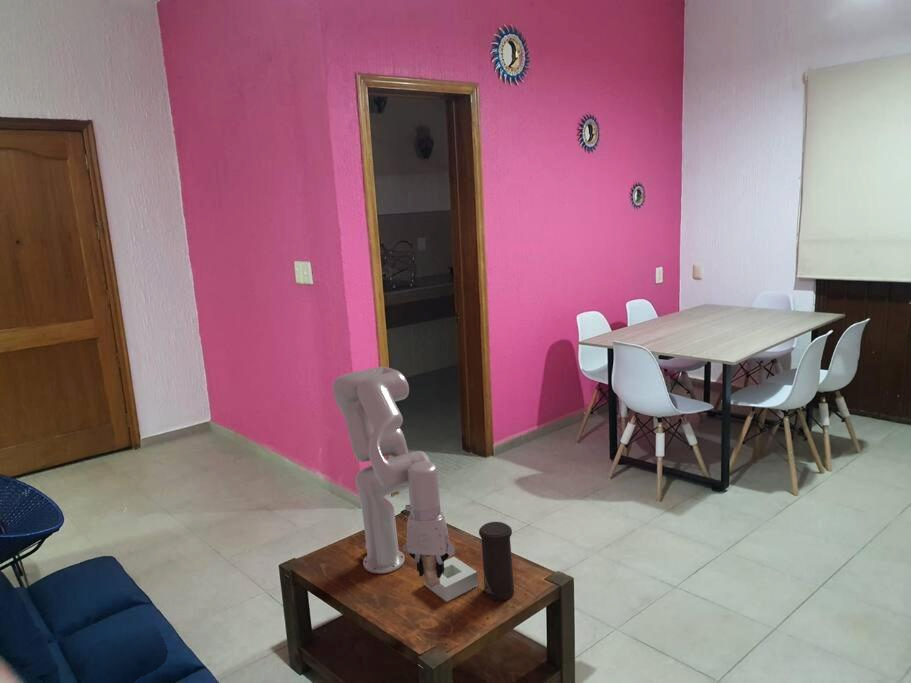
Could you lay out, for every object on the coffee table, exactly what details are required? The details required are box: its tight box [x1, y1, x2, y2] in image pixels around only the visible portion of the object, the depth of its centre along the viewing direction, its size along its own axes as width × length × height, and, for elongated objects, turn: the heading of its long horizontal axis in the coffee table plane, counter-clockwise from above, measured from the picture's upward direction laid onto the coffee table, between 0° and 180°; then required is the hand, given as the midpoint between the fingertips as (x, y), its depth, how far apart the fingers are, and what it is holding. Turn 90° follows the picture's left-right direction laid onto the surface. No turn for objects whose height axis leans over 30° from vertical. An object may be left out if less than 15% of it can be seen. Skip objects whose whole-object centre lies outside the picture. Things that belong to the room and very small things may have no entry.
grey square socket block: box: [423, 556, 479, 603], centre depth 194 cm, size 11×11×4 cm
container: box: [478, 521, 515, 602], centre depth 187 cm, size 9×9×20 cm
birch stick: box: [422, 555, 440, 588], centre depth 177 cm, size 3×3×9 cm
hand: (431, 573), depth 177 cm, fingers closed on birch stick, 4 cm apart
